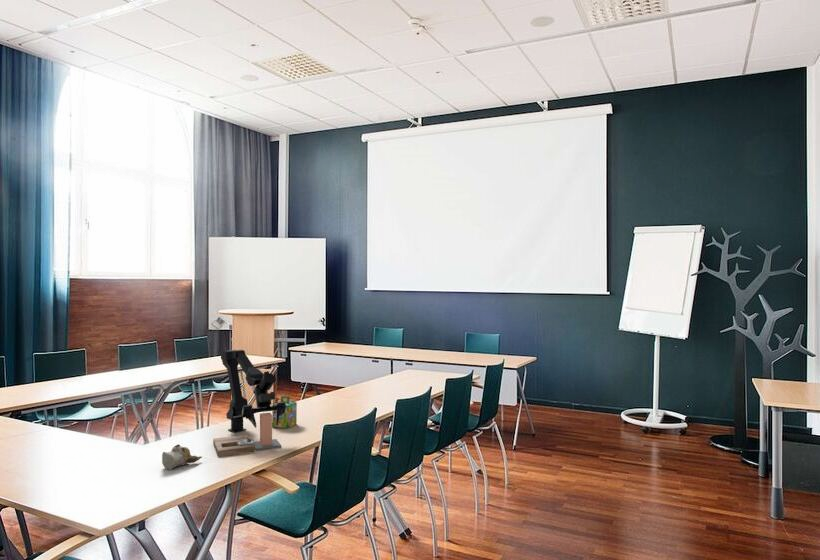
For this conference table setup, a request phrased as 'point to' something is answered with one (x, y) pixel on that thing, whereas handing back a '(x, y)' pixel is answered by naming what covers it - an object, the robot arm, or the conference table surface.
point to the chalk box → (286, 414)
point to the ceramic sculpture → (178, 457)
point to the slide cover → (244, 442)
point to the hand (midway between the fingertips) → (266, 426)
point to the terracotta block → (266, 429)
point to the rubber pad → (274, 445)
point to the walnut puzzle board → (231, 446)
